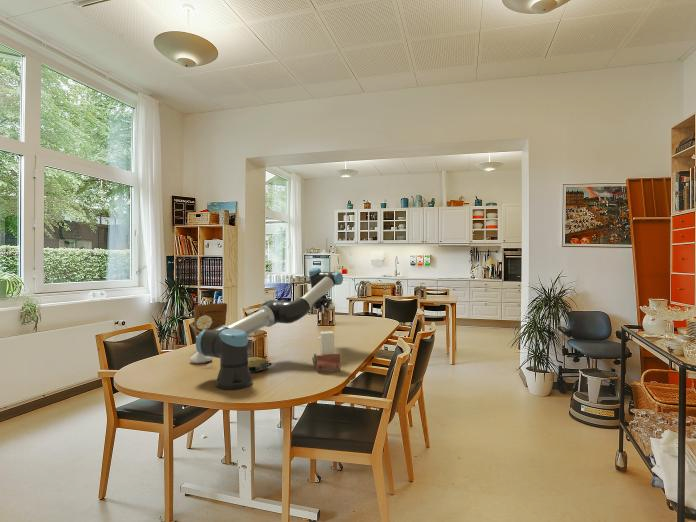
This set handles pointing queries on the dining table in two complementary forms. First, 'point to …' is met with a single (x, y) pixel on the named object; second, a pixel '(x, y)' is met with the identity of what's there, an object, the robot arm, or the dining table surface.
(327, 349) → the block
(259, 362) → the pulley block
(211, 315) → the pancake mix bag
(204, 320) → the flower in vase
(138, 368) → the dining table surface
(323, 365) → the red brick
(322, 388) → the dining table surface
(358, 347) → the dining table surface
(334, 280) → the robot arm
